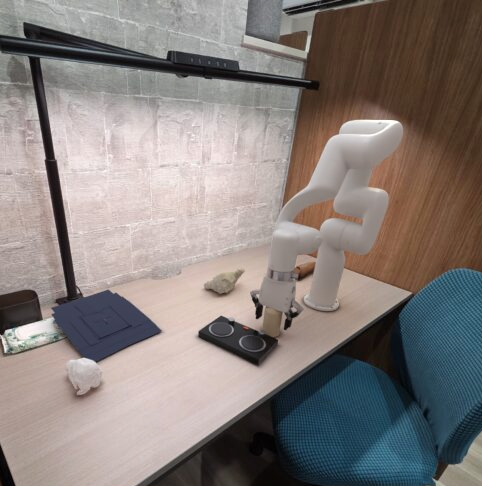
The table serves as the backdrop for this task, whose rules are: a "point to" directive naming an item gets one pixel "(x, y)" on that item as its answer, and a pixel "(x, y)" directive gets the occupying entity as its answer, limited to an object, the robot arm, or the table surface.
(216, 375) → the table surface
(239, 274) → the cream lumpy piece
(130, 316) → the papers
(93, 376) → the crumpled paper
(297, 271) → the sunglasses case
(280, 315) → the candle
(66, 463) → the table surface
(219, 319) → the hot plate
